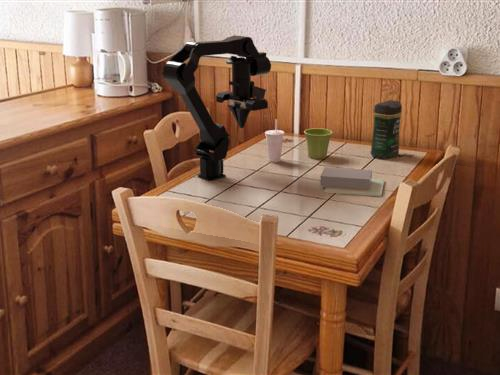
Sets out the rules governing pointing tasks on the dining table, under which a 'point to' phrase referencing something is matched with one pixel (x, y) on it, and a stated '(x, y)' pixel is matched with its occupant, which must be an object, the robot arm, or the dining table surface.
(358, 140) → the dining table surface
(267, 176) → the dining table surface
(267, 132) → the smoothie
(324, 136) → the plant pot
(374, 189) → the pad
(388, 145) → the coffee jar
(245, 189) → the dining table surface
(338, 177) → the slate tile
